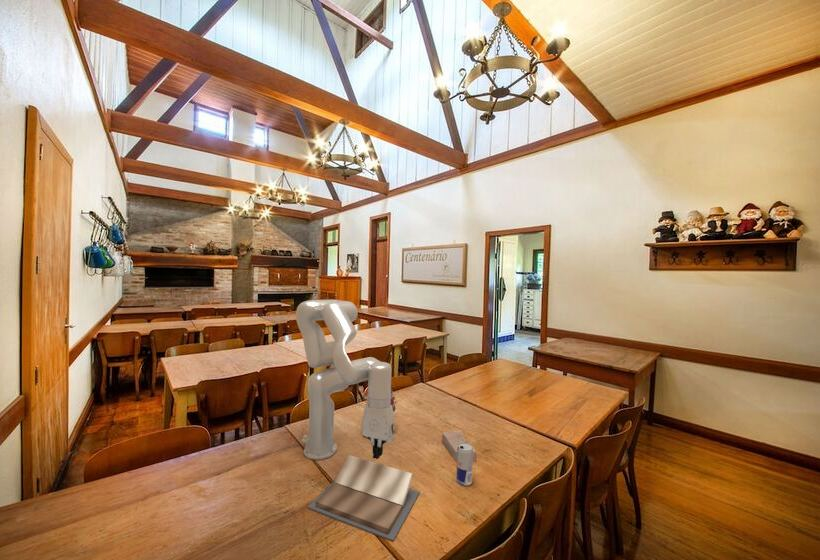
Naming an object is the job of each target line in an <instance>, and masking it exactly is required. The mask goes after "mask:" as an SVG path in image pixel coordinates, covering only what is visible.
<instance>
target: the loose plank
mask: <svg viewBox="0 0 820 560" xmlns="http://www.w3.org/2000/svg"><path fill="white" fill-rule="evenodd" d="M413 477H414V475H413V473H412V472H409V471H405V470H402V469H399V468H394V467H392V466H388V465H384V464H381V463H377V462H374V461H370V460H367V459H364V458H361V457H357V456H354V455H350V454H347V456H346V458H345V460H344V463H343V464H342V466H341V468H340V471H339V473H338V475H337V476H336V478H337V479H336V478H335V479H336V481H335V484H338V485H341V486H344V487H347V488H350V489H353V490H356V491H359V492H362V493H365V494H368V495H371V496H374V497H377V498H380V499H382V500H385V501H388V502H391V503H394V504H397V505H400V506H402V507H404V503H405V500H406V497H407V493H408V490H409V488H410V487H411V483H412V480H413Z"/></svg>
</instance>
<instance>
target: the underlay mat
mask: <svg viewBox="0 0 820 560" xmlns="http://www.w3.org/2000/svg"><path fill="white" fill-rule="evenodd" d="M336 479H337V477H336V478H335V479H334V480H333V481H332V482H331V483H330V484H329V485H328V486H327V487H326V488H325V489H324V490H323V491H322V492H321V493H320V494H319V495H318V496H317V497H316V498H315V499H314V500H313V501H312V502H311V503H310V504H309V505H308V506H307V509H308V510H311V511H312V512H313V511H314V513H315V512H316V513H319V514H321V515H324V516H326V517H329V518H331V519H334V520H336V521H338V522H341V523H344V524H347V525H349V526H351V527H354V528H357V529H360V530H362V531H365V532H367V533H369V534H372V535H374V536H377V537H379V538H382V539H385V540H388V541H390V542H392V541H395V540H396V538H397V537H398V536H397V535H398V534H399V533H400V530H401V528H402V527H403V525H404V523H405V521H406V520H407V518H408V515H409V514H410V511H411V510H412V509H413V507H414V505H415V503H416V501H417V499H418V497H419V496H420V493H421V492H420V491H419V490H415V489H412V488H410V487H409V490H408V493H407V497H406V500H405V503H404V507H402V511H401V513H400V515H399V517H398V518H397V520H396V522H395V524H394V525H393V527H392V529H391V531H390V532H389V534H386V533H383V532H381V531H378V530H375V529H373V528H370V527H368V526H365V525H362V524H360V523H357V522H354V521H352V520H349V519H347V518H344V517H341V516H339V515H336V514H334V513H331V512H328V511H326V510H323V509H320V508H318V507H316V501H317V500H318V499H319V498H320V497H321V496H322V495H323V494H324V493H325V492H326V491H327V490H328V489H329V488H330V487H331V486H332V485H333V484H334V483H335V481H336ZM394 539H395V540H394Z"/></svg>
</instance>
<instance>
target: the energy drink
mask: <svg viewBox="0 0 820 560" xmlns="http://www.w3.org/2000/svg"><path fill="white" fill-rule="evenodd" d="M468 443H469V442H468ZM468 443H460V444H459V445H458V448H457V462H456V477H455V478H456V482H457V483H458V484H459V485H460V486H463V487H468V486H471V484H472V483H473V471H474V470H473V467H474V466H473V465H474V464H473V463H474V462H473V448H474V446H473V445H472V444H471V443H470V444H471V445H470V444H468ZM472 446H473V447H472Z"/></svg>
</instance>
